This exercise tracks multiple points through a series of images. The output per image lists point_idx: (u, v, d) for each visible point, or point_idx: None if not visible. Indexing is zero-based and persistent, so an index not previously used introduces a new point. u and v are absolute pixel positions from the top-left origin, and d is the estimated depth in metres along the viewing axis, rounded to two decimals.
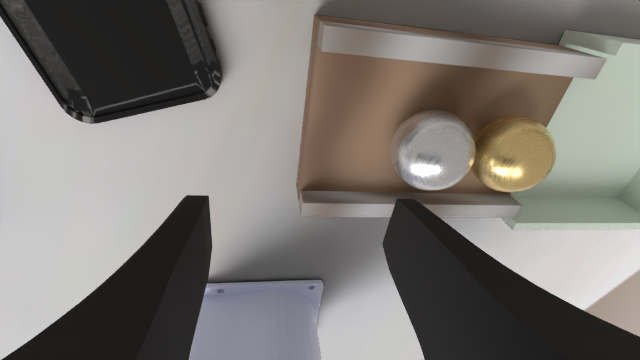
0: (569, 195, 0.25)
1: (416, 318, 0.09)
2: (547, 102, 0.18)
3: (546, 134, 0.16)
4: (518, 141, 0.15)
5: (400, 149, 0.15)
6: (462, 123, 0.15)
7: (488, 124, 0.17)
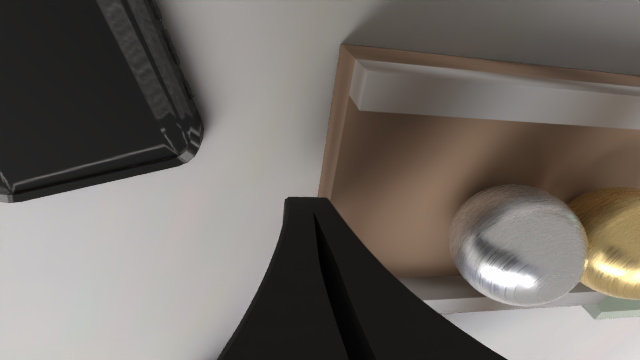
0: None
1: None
2: None
3: None
4: None
5: (472, 249, 0.10)
6: (571, 213, 0.10)
7: (591, 200, 0.12)
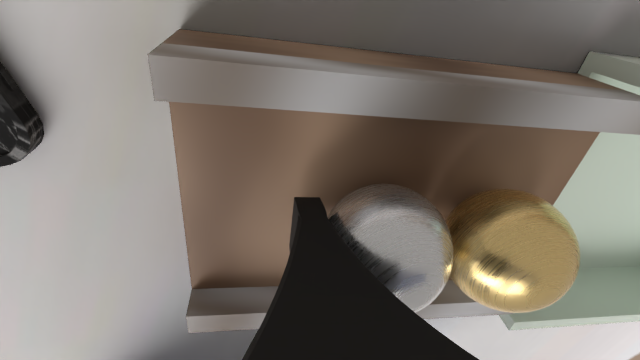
0: (585, 266, 0.18)
1: None
2: (562, 162, 0.12)
3: (564, 231, 0.09)
4: (517, 244, 0.09)
5: None
6: (430, 212, 0.09)
7: (470, 203, 0.11)
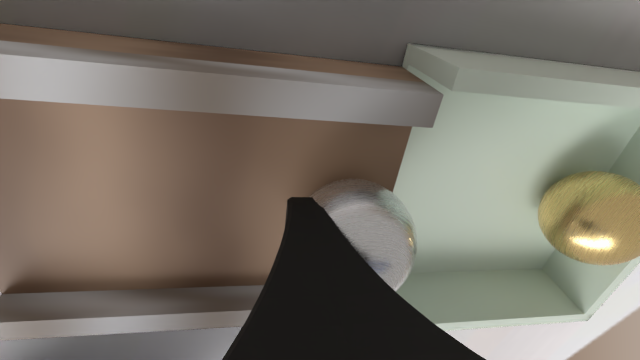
0: (472, 269, 0.18)
1: None
2: (381, 158, 0.11)
3: None
4: (636, 211, 0.12)
5: None
6: (335, 187, 0.10)
7: (574, 188, 0.13)
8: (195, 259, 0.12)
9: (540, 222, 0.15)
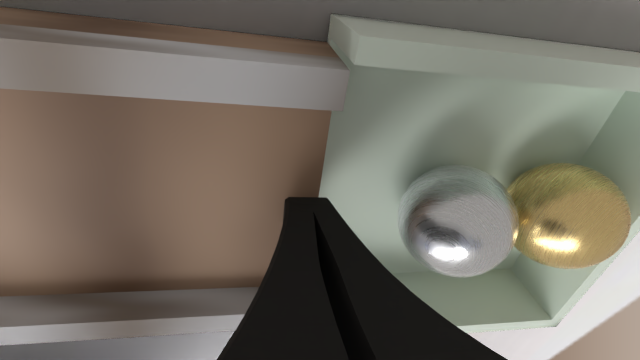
0: None
1: None
2: (300, 148, 0.10)
3: (619, 189, 0.11)
4: (599, 209, 0.11)
5: (404, 195, 0.12)
6: (498, 200, 0.10)
7: (534, 182, 0.12)
8: (100, 262, 0.11)
9: None
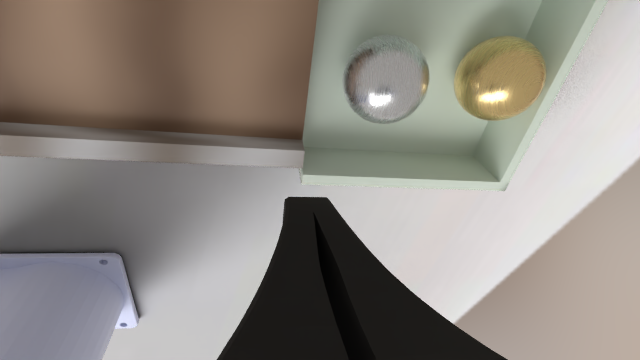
0: (407, 150, 0.20)
1: None
2: (299, 2, 0.13)
3: None
4: (516, 56, 0.14)
5: None
6: (389, 53, 0.13)
7: (475, 48, 0.16)
8: (148, 99, 0.15)
9: (454, 87, 0.17)
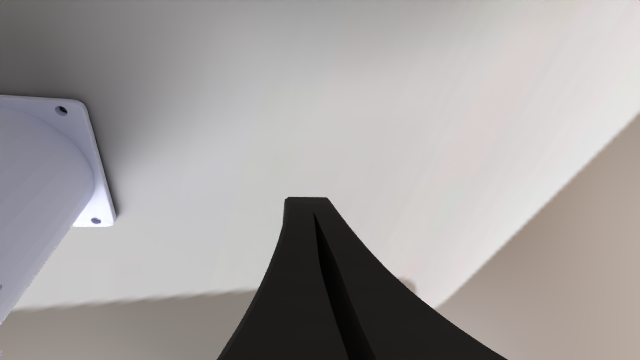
0: None
1: None
2: None
3: None
4: None
5: None
6: None
7: None
8: None
9: None
